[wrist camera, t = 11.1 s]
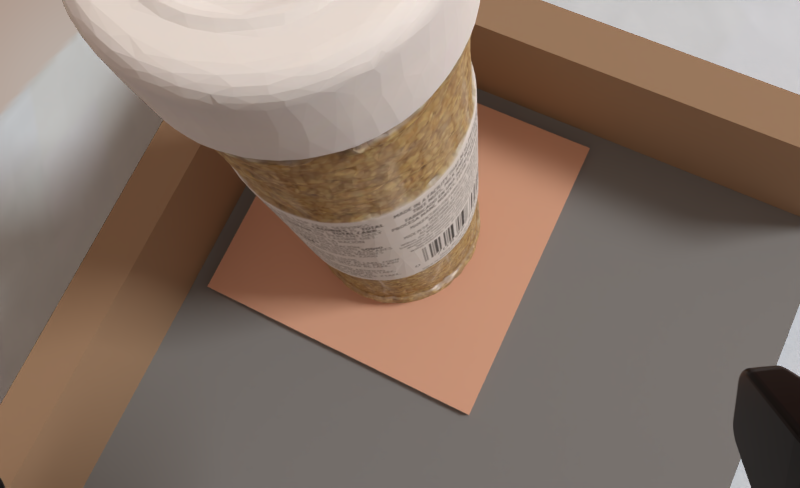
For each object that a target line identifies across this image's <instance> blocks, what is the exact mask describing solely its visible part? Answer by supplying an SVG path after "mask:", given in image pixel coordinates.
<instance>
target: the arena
mask: <svg viewBox="0 0 800 488" xmlns="http://www.w3.org/2000/svg"><path fill="white" fill-rule="evenodd" d="M470 53H471V62H472V65H473V68H474V73H475V78H476V87H477V115H478V202H479V213H480V232H479V237H478V240H477V244H476V249H475V251H474V253H473V256H472V258H471V260H470V261H469V262H468V263H467V265H466V266H465V267H464V269H463V271H462V272H461V274H460V275H459V276H458V277H456V278H455V279H454V280H453V281H452V282H451V284H450V285H448V286H447V287H446V288H444V289H443V290H441V291H439V292H438V293H436V294H434V295H431V296H429V297H426V298H424V299H421V300H417V301H413V302H407V303H382V302H378V301H375V300H373V299H370V298H366V297H363V296H361V295H359V294H358V293H356V292H354V291H353V290H351V289H350V288H348V287H347V286H346V285H345V284H344V283H343V282H342V280H340V279H339V278H338V277H337V276H336V275H335V274H334V273H333V272H332V271H331V269H330V268H329V266H328V265H327V263H326V262H324V261H323V260H322V259H321V258H320V257H319V256H317V255H316V254H315V253H314V252H313V251H312V250H311V249H310V248H309V247H308V246H307V245H306V244H305V243H304V242H303V241H302V240H301V239H300V238H299V237H298V236H297V235H296V234H295V233H294V232H293V231H292V230H291V229H290V227H289V226H288V225H286V224H285V223H284V222H283V221H282V220H281V219H280V218H279V217H278V216H277V215H276V214H275V213H274V212H273V211H272V210H271V209H270V208H269V207H268V206H267V205H266V204H265V203H264V202H263V201H262V200H261V199H260V198H259V197H258V196H257V195H255V194H254V193H253V192H252V191H251V190H250V189H249V188H248V186H247V185H246V184H245V183H244V182H243V181H242V180H241V179H240V177H239V176H238V175H237V173H236V172H235V170H234V169H233V168H232V166H231V165H230V164H229V163H228V162H227V161H226V160H225V158H224V157H223V156H221V155H220V154H219V153H218V152H217V151H215V149H212V148H209V147H207V146H204V145H201V144H199V143H197V142H195V141H194V140H192V139H190V138H188V137H187V136H185V135H183V134H182V133H180V132H179V131H177V130H176V129H174V128H173V127H172V126H170V125H169V124H168V123H167V122H165V121H164V120H163V121H162V123H161V125H160V127H159V128H158V130H157V132H156V134H155V135H154V137H153V139H152V141H151V142H150V144H149V146H148V148H147V149H146V151H145V153H144V155H143V156H142V158H141V160H140V162H139V163H138V165H137V167H136V169H135V170H134V172H133V174H132V176H131V177H130V179H129V181H128V183H127V184H126V186H125V188H124V190H123V191H122V193H121V195H120V197H119V198H118V200H117V202H116V204H115V205H114V207H113V209H112V210H111V212H110V214H109V216H108V217H107V219H106V221H105V223H104V224H103V226H102V228H101V230H100V231H99V233H98V235H97V237H96V238H95V240H94V242H93V244H92V245H91V247H90V249H89V251H88V252H87V254H86V256H85V258H84V259H83V261H82V263H81V265H80V266H79V268H78V270H77V272H76V273H75V275H74V277H73V279H72V280H71V282H70V284H69V286H68V287H67V289H66V291H65V293H64V294H63V296H62V298H61V300H60V301H59V303H58V305H57V307H56V308H55V310H54V312H53V314H52V315H51V317H50V319H49V321H48V322H47V324H46V326H45V328H44V329H43V331H42V333H41V335H40V336H39V338H38V340H37V342H36V343H35V345H34V347H33V349H32V350H31V352H30V354H29V356H28V357H27V359H26V361H25V363H24V364H23V366H22V368H21V370H20V371H19V373H18V375H17V376H16V378H15V380H14V382H13V383H12V385H11V387H10V389H9V390H8V392H7V394H6V396H5V397H4V399H3V401H2V403H1V404H0V478H1V479H2V481H3V483H4V485H5V488H730V485H731V483H732V480H733V477H734V475H735V472H736V469H737V467H738V464H739V462H740V459H741V457H740V454H739V451H738V448H737V445H736V442H735V438H734V433H733V417H734V409H735V402H736V395H737V387H738V380H739V376H740V374H741V372H742V371H743V370H745V369H747V368H753V367H764V366H776V365H777V362H778V359H779V357H780V354H781V351H782V349H783V346H784V344H785V341H786V338H787V336H788V333H789V330H790V328H791V325H792V323H793V320H794V317H795V315H796V312H797V309H798V307H799V304H800V95H798V94H795V93H793V92H790V91H787V90H784V89H782V88H779V87H776V86H774V85H771V84H768V83H765V82H763V81H760V80H757V79H754V78H752V77H749V76H746V75H744V74H741V73H738V72H735V71H733V70H730V69H727V68H724V67H722V66H719V65H716V64H714V63H711V62H708V61H705V60H703V59H700V58H697V57H694V56H692V55H689V54H686V53H683V52H681V51H678V50H675V49H673V48H670V47H667V46H664V45H662V44H659V43H656V42H653V41H651V40H648V39H645V38H643V37H640V36H637V35H634V34H632V33H629V32H626V31H623V30H621V29H618V28H615V27H613V26H610V25H607V24H604V23H602V22H599V21H596V20H593V19H591V18H588V17H585V16H583V15H580V14H577V13H574V12H572V11H569V10H566V9H563V8H561V7H558V6H555V5H553V4H550V3H547V2H544V1H542V0H480V5H479V9H478V13H477V17H476V22H475V25H474V27H473V30H472V33H471V37H470Z"/></svg>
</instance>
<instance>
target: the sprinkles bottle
mask: <svg viewBox="0 0 800 488" xmlns="http://www.w3.org/2000/svg"><path fill="white" fill-rule="evenodd" d="M62 1H63V4H64V7H65V9H66V11H67V13H68V15H69V17H70V19H71V20H72V22H73V23H74V25H75V27H76V28H77V30H78V31H79V33H80V34H81V36H82V37H83V38H84V40H85V41H86V42H87V43H88V45H89V46H90V47H91V49H92V50H93V51H94V52H95V54H96V55H97V56H98V57H99V58H100V59H101V60H102V61H103V62H104V63H105V64H106V65H107V66H108V67H109V68H110V69H111V70H112V71H113V72H114V73H115V74H116V75H117V76H118V77H119V78H120V79H121V80H122V81H123V82H124V83H125V84H126V85H127V86H128V87H129V88H130V89H131V90H132V91H133V92H134V93H135V94H136V95H137V96H138V97H139V98H141V99H142V100H143V101H144V102H145V103H146V104H147V105H148V106H149V107H150V108H151V109H152V110H153V111H154V112H155V113H156V114H158V115H159V116H160V117H161V118H162V119H163V120H164V121H165V122H167V123H168V124H169V125H170V126H172V127H173V128H174V129H176V130H177V131H179V132H180V133H182V134H183V135H185V136H187V137H188V138H190V139H192V140H194V141H195V142H197V143H199V144H201V145H204V146H207V147H209V148H212V149H215V151H217V152H218V153H219V154H220V155H221V156H223V157H224V158H225V160H226V161H227V162H228V163H229V164H230V165H231V166H232V168H233V169H234V170H235V172H236V173H237V175H238V176H239V177H240V179H241V180H242V181H243V182H244V183H245V184H246V185H247V186H248V188H249V189H250V190H251V191H252V192H253V193H254V194H255V195H257V196H258V197H259V198H260V199H261V200H262V201H263V202H264V203H265V204H266V205H267V206H268V207H269V208H270V209H271V210H272V211H273V212H274V213H275V214H276V215H277V216H278V217H279V218H280V219H281V220H282V221H283V222H284V223H285V224H286V225H288V226H289V227H290V229H291V230H292V231H293V232H294V233H295V234H296V235H297V236H298V237H299V238H300V239H301V240H302V241H303V242H304V243H305V244H306V245H307V246H308V247H309V248H310V249H311V250H312V251H313V252H314V253H315V254H316V255H317V256H319V257H320V258H321V259H322V260H323V261H324V262H326V263H327V265H328V266H329V268H330V269H331V271H332V272H333V273H334V274H335V275H336V276H337V277H338V278H339V279H340V280H342V282H343V283H344V284H345V285H346V286H347V287H348V288H350V289H351V290H353V291H354V292H356V293H358V294H359V295H361V296H363V297H366V298H370V299H373V300H375V301H378V302H382V303H407V302H413V301H417V300H421V299H424V298H426V297H429V296H431V295H434V294H436V293H438V292H439V291H441V290H443V289H444V288H446V287H447V286H448V285H450V284H451V282H452V281H453V280H454V279H455V278H456V277H458V276H459V275H460V274H461V272H462V271H463V269H464V267H465V266H466V265H467V263H468V262H469V261H470V260H471V258H472V256H473V253H474V251H475V249H476V244H477V240H478V237H479V232H480V213H479V202H478V115H477V87H476V78H475V73H474V68H473V65H472V62H471V53H470V37H471V33H472V30H473V27H474V25H475V22H476V17H477V13H478V9H479V5H480V0H62Z"/></svg>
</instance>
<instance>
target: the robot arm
mask: <svg viewBox="0 0 800 488" xmlns="http://www.w3.org/2000/svg"><path fill="white" fill-rule="evenodd" d="M733 433H734V438H735V442H736V445H737V448H738V451H739V454H740V457H741V459H742V462H743V465H744V468H745V471H746V474H747V477H748V479H749V482H750V485H751V488H800V377H799V376H798V375H796V374H795V373H793V372H791V371H790V370H788V369H786V368H784V367H781V366H764V367H753V368H747V369H745V370H743V371H742V372H741V374H740V376H739V380H738V387H737V395H736V402H735V409H734V417H733ZM0 488H5V485H4V483H3V481H2V479H1V478H0Z"/></svg>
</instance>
